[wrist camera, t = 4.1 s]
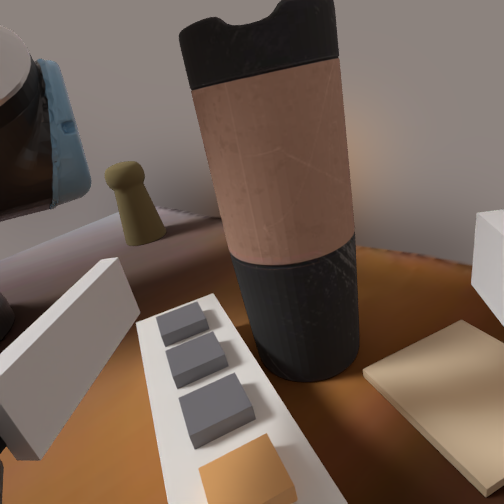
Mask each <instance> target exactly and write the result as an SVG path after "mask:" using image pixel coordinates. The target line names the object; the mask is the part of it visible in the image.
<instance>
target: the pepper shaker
mask: <svg viewBox="0 0 504 504" xmlns="http://www.w3.org/2000/svg"><path fill="white" fill-rule="evenodd" d="M144 179H145V174H144V171H143V169H142V167H141V165H140V164H138V163H137V162H135V161H127V162H121V163H117V164H115V165H112V166H111V167H109V168H108V169H106V171H105V180H106V182H107V184H108V186H109V187H110V188H111V189H112V190H114V192H115V196H116V200H117V205H118V209H119V214H120V218H121V222H122V227H123V231H124V235H125V240H126V243H127V245H129V246H138V245H143V244H147V243H150V242H153V241H155V240H157V239H159V238H161V237H162V236H164V235H165V234H166V229H165V227H164V225H163V223H162V221H161V219H160V217H159V214H158V212H157V210H156V208H155V206H154V204H153V202H152V200H151V198H150V196H149V194H148V192H147V190H146V188H145V186H144V184H143V182H144Z"/></svg>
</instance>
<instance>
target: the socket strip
mask: <svg viewBox="0 0 504 504" xmlns="http://www.w3.org/2000/svg"><path fill="white" fill-rule="evenodd" d="M136 326H137V332H138V337H139V343H140V348H141V354H142V360H143V365H144V371H145V376H146V382H147V388H148V393H149V399H150V404H151V410H152V416H153V421H154V427H155V432H156V438H157V444H158V449H159V455H160V460H161V466H162V472H163V477H164V483H165V488H166V494H167V499H168V504H348V503H347V502H346V500H345V498H344V497H343V495H342V494H341V492H340V491H339V489H338V488H337V486H336V484H335V483H334V481H333V480H332V478H331V477H330V475H329V473H328V472H327V470H326V469H325V467H324V466H323V464H322V463H321V461H320V459H319V458H318V456H317V455H316V453H315V452H314V450H313V448H312V447H311V445H310V444H309V442H308V441H307V439H306V438H305V436H304V434H303V433H302V431H301V430H300V428H299V427H298V425H297V423H296V422H295V420H294V419H293V417H292V416H291V414H290V413H289V411H288V409H287V408H286V406H285V405H284V403H283V402H282V400H281V398H280V397H279V395H278V394H277V392H276V391H275V389H274V388H273V386H272V384H271V383H270V381H269V380H268V378H267V377H266V375H265V373H264V372H263V370H262V369H261V367H260V366H259V364H258V363H257V361H256V359H255V358H254V356H253V355H252V353H251V352H250V350H249V348H248V347H247V345H246V344H245V342H244V341H243V339H242V338H241V336H240V334H239V333H238V331H237V330H236V328H235V327H234V325H233V323H232V322H231V320H230V319H229V317H228V316H227V314H226V313H225V311H224V309H223V308H222V306H221V305H220V303H219V302H218V300H217V298H216V297H215V295H214V294H213V293H212V294H210V295H207V296H204V297H202V298H199V299H196V300H194V301H191V302H189V303H186V304H183V305H181V306H178V307H176V308H173V309H170V310H168V311H165V312H162V313H160V314H157V315H155V316H152V317H149V318H147V319H144V320H142V321H139V322H136Z"/></svg>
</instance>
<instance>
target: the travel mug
mask: <svg viewBox="0 0 504 504" xmlns="http://www.w3.org/2000/svg"><path fill="white" fill-rule="evenodd" d="M179 42H180V47H181V51H182V56H183V60H184V64H185V68H186V72H187V76H188V80H189V85H190V88H191V90H192V91H191V93H192V97H193V101H194V106H195V110H196V114H197V118H198V122H199V126H200V131H201V135H202V139H203V143H204V148H205V152H206V156H207V160H208V164H209V168H210V172H211V176H212V181H213V185H214V189H215V193H216V198H217V202H218V206H219V210H220V215H221V219H222V223H223V227H224V231H225V235H226V240H227V244H228V248H229V251H230V255H231V259H232V262H233V266H234V269H235V273H236V276H237V280H238V283H239V287H240V290H241V294H242V297H243V301H244V304H245V308H246V311H247V315H248V318H249V322H250V325H251V329H252V332H253V336H254V339H255V343H256V346H257V349H258V352H259V355H260V358H261V360H262V362H263V363H264V365H265V366H266V367H267V368H268V370H270V371H271V372H272V373H274V374H275V375H277V376H279V377H281V378H284V379H287V380H291V381H297V382H314V381H320V380H324V379H328V378H330V377H333V376H335V375H337V374H339V373H341V372H342V371H344V370H345V369H346V368H347V367H349V366H350V365H351V363H352V362H353V361H354V359H355V358H356V356H357V353H358V350H359V313H358V290H357V268H356V245H355V232H354V228H355V226H354V215H353V204H352V193H351V183H350V171H349V161H348V149H347V138H346V127H345V116H344V105H343V94H342V83H341V72H340V61H339V58H338V56H339V49H338V39H337V27H336V16H335V7H334V2H333V0H281V1H280V2H279V3H278V4H277V6H276V8H275V9H274V11H273V12H272V13H271V14H270V15H269V16H268V17H266V18H264V19H262V20H260V21H257V22H253V23H250V24H245V25H229V24H227V23H225V22H224V21H223V20H221V19H220V18H217V17H210V18H206V19H203V20H200V21H198V22H195V23H193V24H191V25H190V26H188V27H186V28H184V29H183V30H182V31H181V32H180V34H179Z"/></svg>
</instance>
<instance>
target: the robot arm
mask: <svg viewBox="0 0 504 504" xmlns="http://www.w3.org/2000/svg"><path fill="white" fill-rule="evenodd" d="M90 187H91V176H90V172H89V168H88V165H87V161H86V157H85V153H84V150H83V146H82V143H81V139H80V135H79V132H78V128H77V125H76V121H75V118H74V115H73V111H72V107H71V104H70V100H69V97H68V93H67V90H66V87H65V83H64V80H63V77H62V74H61V70H60V67H59V65H58V64H57V63H56V62H54V61H49V60H43V59H38V60H37V61H35V62H34V61H33V59H32V57H31V55H30V53H29V51H28V49H27V47H26V46H25V44H24V43H23V41H22V40H21V39H20V37H19V36H18V35H16V34H15V33H14V32H13V31H11V30H10V29H8V28H6V27H4V26H2V25H0V222H1V221H5V220H8V219H12V218H16V217H19V216H24V215H28V214H32V213H35V212H40V211H44V210H47V209H54V208H56V206H58V205H60V204H63V203H66V202H69V201H72V200H75V199H78V198H81V197H83V196H84V195H85V194H86V193H87V192H88V191H89V189H90ZM471 285H472V286H473V287H474V288H475V290H476V291H477V292H478V294H479V295H480V296H481V298H482V299H483V300H484V302H485V303H486V304H487V305H488V307H489V308H490V309H491V311H492V312H493V313H494V315H495V316H496V317H497V318H498V320H499V321H500V322H501V324H502V325H503V326H504V210H495V211H487V212H479V213H477V217H476V230H475V241H474V254H473V266H472V278H471ZM139 314H140V310H139V308H138V305H137V303H136V300H135V298H134V295H133V293H132V290H131V288H130V286H129V283H128V281H127V278H126V276H125V273H124V271H123V268H122V266H121V263H120V261H119V258H118V257H117V258H109V259H101V260H100V261H99V262H98V263H97V264H96V265H95V266H94V267H93V268H92V269H91V270H90V271H88V272H87V273H86V274H85V275H84V276H83V277H82V278H81V279H80V280H79V281H78V282H77V283H76V284H75V285H73V286H72V287H71V288H70V289H69V290H68V291H67V292H66V293H65V294H64V295H63V296H62V297H61V298H60V299H58V300H57V301H56V302H55V303H54V304H53V305H52V306H51V307H50V308H49V309H48V310H47V311H46V312H45V313H43V314H42V315H41V316H40V317H39V318H38V319H37V320H36V321H35V322H34V323H33V324H32V325H31V326H30V327H28V328H27V329H26V330H25V331H24V332H23V333H22V334H21V335H20V336H19V337H18V338H17V339H15V340H14V341H13V342H12V343H11V344H10V345H9V346H8V347H7V348H6V349H5V350H4V351H3V352H2V353H1V354H0V453H1V452H2V451H3V450H4V448H5V447H6V446H7V447H8V449H9V450H10V451H11V453H12V454H13V455H14V457H15V458H16V459H17V460H41V459H42V458H43V456H44V455H45V453H46V452H47V450H48V449H49V447H50V446H51V444H52V443H53V441H54V440H55V439H56V437H57V436H58V434H59V433H60V431H61V430H62V428H63V427H64V425H65V424H66V422H67V421H68V419H69V418H70V416H71V415H72V413H73V412H74V410H75V409H76V407H77V406H78V405H79V403H80V402H81V400H82V399H83V397H84V396H85V394H86V393H87V391H88V390H89V388H90V387H91V385H92V384H93V382H94V381H95V379H96V378H97V376H98V375H99V373H100V372H101V371H102V369H103V368H104V366H105V365H106V363H107V362H108V360H109V359H110V357H111V356H112V354H113V353H114V351H115V350H116V348H117V347H118V345H119V344H120V342H121V341H122V339H123V338H124V336H125V335H126V334H127V332H128V331H129V329H130V328H131V326H132V325H133V323H134V322H135V320H136V319H137V317H138V316H139ZM14 319H15V314H14V312H13V310H12V308H11V307H10V305H9V303H8V302H7V300H6V298H5V297H4V296H3V295H2V294H1V293H0V340H1V339H2V338H3V337H4V336H5V335H6V334H7V333H8V331H9V330H10V328H11V327H12V325H13V322H14ZM3 468H4V467H3V464H2V461H1V460H0V504H2V489H3Z"/></svg>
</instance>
